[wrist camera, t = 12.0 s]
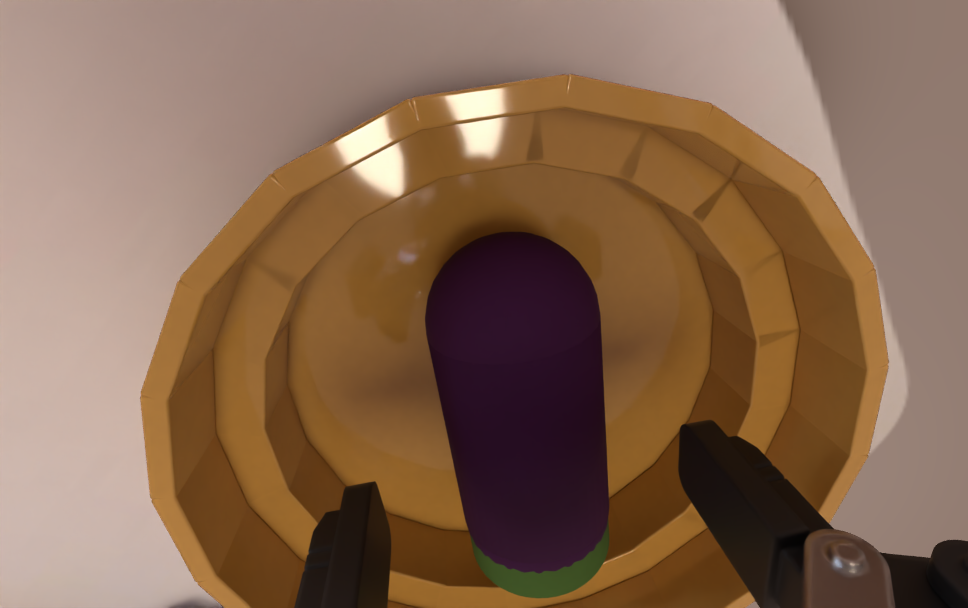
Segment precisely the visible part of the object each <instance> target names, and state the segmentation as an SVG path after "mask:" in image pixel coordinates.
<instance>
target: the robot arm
mask: <svg viewBox="0 0 968 608" xmlns="http://www.w3.org/2000/svg"><path fill="white" fill-rule="evenodd" d="M678 473H679V478H680V481H681V484H682V487H683V489H684V491H685V493H686V495H687V496H688V498H689V499H690V501H691V503H692V504H693V506H694V507H695V509H696V510H697V512H698V513H699V515H700V516H701V518H702V519H703V521H704V522H705V524H706V526H707V527H708V529H709V530H710V532H711V533H712V535H713V536H714V538H715V539H716V541H717V542H718V544H719V545H720V547H721V549H722V550H723V552H724V553H725V555H726V556H727V558H728V559H729V561H730V562H731V564H732V565H733V567H734V569H735V570H736V572H737V573H738V575H739V576H740V578H741V579H742V581H743V582H744V584H745V585H746V587H747V588H748V590H749V592H750V593H751V595H752V596H753V598H754V599H755V601H756V602H757V604H758V605H759V607H760V608H968V541H962V540H947V541H943V542H941V543H938V544H937V545H936V546H935V547H934V549H933V552H932V555H931V558H926V557H916V556H904V555H895V554H886V553H880V552H878V550H877V549H875V548H874V547H873V546H872V545H871V544H869V543H868V542H866V541H864V540H863V539H861V538H859V537H857V536H855V535H853V534H851V533H848V532H844V531H840V530H835V529H834V528H832V527H831V525H830V524H829V523H828V522H827V521H826V520H825V519H824V518H823V517H822V516H821V515H820V514H819V513H818V512H817V511H816V509H815V508H814V507H813V506H812V505H811V504H810V503H809V502H808V501H807V500H806V499H805V498H804V497H803V496H802V494H801V493H800V492H799V491H798V490H797V489H796V488H795V487H794V486H793V485H792V484H791V483H790V482H789V481H788V480H787V479H785V478H784V475H783V474H782V473H781V472H780V471H779V470H778V469H777V468H776V467H775V466H773V465H772V462H771V461H770V460H769V459H768V458H767V457H766V456H765V455H764V454H763V453H762V452H761V451H760V450H759V449H758V447H756V446H754V445H753V444H751V443H749V442H747V441H746V440H744V439H742V438H741V437H739V436H731V437H728V436H727V435H726V434H725V433H724V432H723V430H722V429H721V428H720V427H719V426H718V425H717V424H716V423H715V422H714V421H713V420H710V419H709V420H704V421H698V422H693V423H688V424H683V425H681V427H680V433H679V459H678ZM308 552H309V554H308V555H307V558H306V562H305V566H304V572H303V574H302V578H301V582H300V586H299V590H298V594H297V598H296V602H295V606H294V608H387V607H388V592H389V578H390V563H391V533H390V526H389V522H388V519H387V516H386V512H385V509H384V505H383V502H382V499H381V495H380V492H379V489H378V486H377V483H376V482H375V481H373V482H368V483H362V484H357V485H351V486H346V487H345V489H344V492H343V496H342V501H341V507H340V510H335V511H330V512H326V513H325V514H324V516H323V517H322V519H321V520H320V522H319V523H318V525H317V526H316V528H315V529H314V531H313V534H312V538H311V542H310V546H309V550H308Z"/></svg>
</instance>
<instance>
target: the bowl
mask: <svg viewBox="0 0 968 608" xmlns="http://www.w3.org/2000/svg"><path fill="white" fill-rule="evenodd" d="M499 232H527V233H532V234H535V235H538V236H542V237H545V238H547V239H550V240H551V241H553V242H555V243H557V244H558V245H560V246H562V247H563V248H565V249H566V250H567V251H568V252H570V253H571V254H572V255H573V256H574V257H575V258H576V259H577V260H578V261H579V262H580V264H581V265H582V267H583V268H584V270H585V271H586V273H587V274H588V276H589V277H590V278H591V280H592V283H593V285H594V288H595V290H596V293H597V297H598V303H599V309H600V315H601V336H602V358H603V379H604V401H605V423H606V444H607V466H608V487H609V516H608V520H609V549H608V553H607V556H606V559H605V561H604V563H603V565H602V566H601V568H600V569H599V571H598V572H597V573H596V574H595V576H594V577H593V578H592V579H591V580H590V581H588V582H587V583H586V584H585V585H583V586H582V587H580V588H578V589H577V590H575V591H572V592H570V593H568V594H565V595H561V596H558V597H552V598H528V597H523V596H519V595H516V594H513V593H510V592H508V591H506V590H504V589H502V588H500V587H499V586H497V585H496V584H495V583H493V582H492V581H491V580H490V579H489V578H488V577H487V576H486V575H485V574H484V573H483V571H482V570H481V569H480V567H479V565H478V563H477V561H476V559H475V556H474V552H473V548H472V543H471V538H470V533H469V530H468V527H467V524H466V521H465V517H464V512H463V507H462V502H461V497H460V493H459V488H458V483H457V478H456V474H455V469H454V464H453V459H452V455H451V450H450V445H449V440H448V436H447V431H446V426H445V421H444V417H443V412H442V407H441V402H440V397H439V393H438V388H437V383H436V378H435V374H434V369H433V364H432V359H431V355H430V350H429V345H428V340H427V336H426V327H425V313H426V305H427V298H428V295H429V292H430V289H431V286H432V283H433V281H434V279H435V278H436V276H437V275H438V273H439V271H440V270H441V268H442V267H443V265H444V264H445V263H446V262H447V261H448V260H449V258H450V257H451V256H452V255H453V254H454V253H455V252H457V251H458V250H459V249H461V248H462V247H464V246H465V245H467V244H469V243H470V242H472V241H473V240H475V239H478V238H480V237H483V236H487V235H490V234H494V233H499ZM888 363H889V360H888V353H887V346H886V339H885V332H884V325H883V318H882V311H881V304H880V297H879V290H878V283H877V276H876V270H875V269H874V265H873V263H872V262H871V260H870V258H869V257H868V255H867V254H866V252H865V250H864V249H863V247H862V246H861V244H860V242H859V241H858V239H857V238H856V236H855V234H854V233H853V231H852V230H851V228H850V226H849V225H848V223H847V221H846V220H845V218H844V217H843V215H842V213H841V212H840V210H839V209H838V207H837V205H836V204H835V202H834V201H833V199H832V197H831V196H830V194H829V193H828V191H827V189H826V188H825V186H824V184H823V183H822V181H821V180H820V178H819V177H818V176H816V174H815V173H814V172H813V171H811V170H810V169H808V168H807V167H805V166H804V165H802V164H801V163H799V162H798V161H796V160H795V159H794V158H792V157H791V156H789V155H788V154H786V153H785V152H783V151H782V150H780V149H779V148H777V147H776V146H774V145H773V144H771V143H770V142H768V141H767V140H765V139H764V138H762V137H761V136H759V135H758V134H756V133H755V132H754V131H752V130H751V129H749V128H748V127H746V126H745V125H743V124H742V123H740V122H739V121H737V120H736V119H734V118H733V117H731V116H730V115H728V114H727V113H725V112H724V111H722V110H721V109H719V108H718V107H717V106H715V105H712V104H711V103H708V102H703V101H698V100H694V99H689V98H684V97H679V96H674V95H670V94H665V93H660V92H655V91H650V90H646V89H641V88H636V87H631V86H626V85H621V84H617V83H612V82H607V81H602V80H597V79H593V78H588V77H583V76H578V75H573V74H568V75H566V74H562V75H555V76H549V77H542V78H535V79H529V80H522V81H516V82H509V83H502V84H496V85H489V86H483V87H476V88H469V89H463V90H456V91H450V92H443V93H436V94H430V95H423V96H416V97H413V98H412V99H406V100H404V101H403V102H401V103H399V104H397V105H395V106H393V107H391V108H390V109H388V110H386V111H384V112H382V113H380V114H378V115H377V116H375V117H373V118H371V119H369V120H367V121H365V122H364V123H362V124H360V125H358V126H356V127H354V128H352V129H351V130H349V131H347V132H345V133H343V134H341V135H339V136H338V137H336V138H334V139H332V140H330V141H328V142H326V143H325V144H323V145H321V146H319V147H317V148H315V149H313V150H312V151H310V152H308V153H306V154H304V155H302V156H300V157H299V158H297V159H295V160H293V161H291V162H289V163H287V164H286V165H284V166H282V167H280V168H278V169H276V170H274V172H273V173H272V174H270V175H268V177H267V178H266V179H265V180H264V181H263V182H262V184H261V185H260V186H259V187H258V188H257V189H256V190H255V192H254V193H253V194H252V195H251V196H250V197H249V198H248V200H247V201H246V202H245V203H244V204H243V205H242V206H241V208H240V209H239V210H238V211H237V212H236V213H235V215H234V216H233V217H232V218H231V219H230V220H229V221H228V223H227V224H226V225H225V226H224V227H223V228H222V229H221V231H220V232H219V233H218V234H217V235H216V236H215V238H214V239H213V240H212V241H211V242H210V243H209V244H208V246H207V247H206V248H205V249H204V250H203V251H202V252H201V254H200V255H199V256H198V257H197V258H196V259H195V260H194V262H193V263H192V264H191V265H190V266H189V267H188V269H187V270H186V271H185V272H184V273H183V274H182V275H181V277H180V280H179V281H178V282H177V285H176V288H175V291H174V294H173V297H172V300H171V303H170V306H169V309H168V312H167V315H166V318H165V321H164V324H163V327H162V330H161V333H160V336H159V339H158V342H157V345H156V348H155V351H154V354H153V357H152V360H151V363H150V366H149V369H148V372H147V375H146V378H145V381H144V384H143V387H142V390H141V397H140V401H141V411H142V421H143V431H144V441H145V450H146V460H147V470H148V480H149V490H150V498H151V499H152V503H153V505H154V507H155V509H156V511H157V512H158V514H159V516H160V518H161V520H162V522H163V523H164V525H165V527H166V529H167V531H168V532H169V534H170V536H171V538H172V540H173V542H174V543H175V545H176V547H177V549H178V551H179V552H180V554H181V556H182V558H183V560H184V562H185V563H186V565H187V567H188V569H189V571H190V572H191V574H192V576H193V578H194V580H195V581H196V582H198V585H199V586H200V587H201V588H202V589H204V590H205V591H206V592H207V593H208V594H209V595H210V596H212V597H213V598H214V599H215V600H216V601H217V602H218V603H220V604H221V605H222V606H223V607H224V608H294V606H295V602H296V598H297V594H298V590H299V586H300V582H301V578H302V574H303V572H304V566H305V562H306V558H307V555H308V554H309V552H308V550H309V546H310V542H311V538H312V534H313V531H314V529H315V528H316V526H317V525H318V523H319V522H320V520H321V519H322V517H323V516H324V514H325V513H326V512H330V511H335V510H340V507H341V501H342V496H343V492H344V489H345V487H346V486H351V485H357V484H362V483H368V482H373V481H375V482H376V483H377V486H378V489H379V492H380V495H381V499H382V502H383V505H384V509H385V512H386V516H387V519H388V522H389V526H390V533H391V563H390V578H389V592H388V607H387V608H745V607H747V606H748V605H750V604H751V603H753V602H755V599H754V598H753V596H752V595H751V593H750V592H749V590H748V588H747V587H746V585H745V584H744V582H743V581H742V579H741V578H740V576H739V575H738V573H737V572H736V570H735V569H734V567H733V565H732V564H731V562H730V561H729V559H728V558H727V556H726V555H725V553H724V552H723V550H722V549H721V547H720V545H719V544H718V542H717V541H716V539H715V538H714V536H713V535H712V533H711V532H710V530H709V529H708V527H707V526H706V524H705V522H704V521H703V519H702V518H701V516H700V515H699V513H698V512H697V510H696V509H695V507H694V506H693V504H692V503H691V501H690V499H689V498H688V496H687V495H686V493H685V491H684V489H683V487H682V484H681V481H680V478H679V473H678V459H679V433H680V427H681V425H683V424H688V423H693V422H698V421H704V420H709V419H710V420H713V421H714V422H715V423H716V424H717V425H718V426H719V427H720V428H721V429H722V430H723V432H724V433H725V434H726V435H727V436H728V437H731V436H739V437H741V438H742V439H744V440H746V441H747V442H749V443H751V444H753V445H754V446H756V447H758V449H759V450H760V451H761V452H762V453H763V454H764V455H765V456H766V457H767V458H768V459H769V460H770V461H771V462H772V465H773V466H775V467H776V468H777V469H778V470H779V471H780V472H781V473H782V474H783V475H784V478H785V479H787V480H788V481H789V482H790V483H791V484H792V485H793V486H794V487H795V488H796V489H797V490H798V491H799V492H800V493H801V494H802V496H803V497H804V498H805V499H806V500H807V501H808V502H809V503H810V504H811V505H812V506H813V507H814V508H815V509H816V511H817V512H818V513H819V514H820V515H821V516H822V517H823V518H824V519H825V520H826V521H827V522H828V523H830V521H831V520H832V518H833V516H834V515H835V513H836V511H837V509H838V508H839V506H840V504H841V503H842V501H843V499H844V497H845V495H846V494H847V492H848V490H849V489H850V487H851V485H852V484H853V482H854V480H855V478H856V477H857V475H858V473H859V471H860V470H861V468H862V466H863V465H864V463H865V461H866V459H867V458H868V454H869V451H870V447H871V442H872V438H873V433H874V429H875V425H876V420H877V416H878V411H879V407H880V402H881V398H882V394H883V389H884V385H885V380H886V376H887V372H888Z"/></svg>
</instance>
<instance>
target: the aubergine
mask: <svg viewBox="0 0 968 608" xmlns="http://www.w3.org/2000/svg"><path fill="white" fill-rule="evenodd" d="M425 327H426V336H427V340H428V345H429V350H430V355H431V359H432V364H433V369H434V374H435V378H436V383H437V388H438V393H439V397H440V402H441V407H442V412H443V417H444V421H445V426H446V431H447V436H448V440H449V445H450V450H451V455H452V459H453V464H454V469H455V474H456V478H457V483H458V488H459V493H460V497H461V502H462V507H463V512H464V517H465V521H466V524H467V527H468V530H469V533H470V538H471V543H472V548H473V552H474V556H475V559H476V561H477V563H478V565H479V567H480V569H481V570H482V571H483V573H484V574H485V575H486V576H487V577H488V578H489V579H490V580H491V581H492V582H493V583H495V584H496V585H497V586H499V587H500V588H502V589H504V590H506V591H508V592H510V593H513V594H516V595H519V596H523V597H528V598H552V597H558V596H561V595H565V594H568V593H570V592H572V591H575V590H577V589H578V588H580V587H582V586H583V585H585V584H586V583H587V582H588V581H590V580H591V579H592V578H593V577H594V576H595V574H596V573H597V572H598V571H599V569H600V568H601V566H602V565H603V563H604V561H605V559H606V556H607V553H608V549H609V520H608V516H609V487H608V466H607V444H606V423H605V401H604V379H603V358H602V336H601V315H600V309H599V303H598V297H597V293H596V290H595V288H594V285H593V283H592V280H591V278H590V277H589V276H588V274H587V273H586V271H585V270H584V268H583V267H582V265H581V264H580V262H579V261H578V260H577V259H576V258H575V257H574V256H573V255H572V254H571V253H570V252H568V251H567V250H566V249H565V248H563V247H562V246H560V245H558V244H557V243H555V242H553V241H551V240H550V239H547V238H545V237H542V236H538V235H535V234H532V233H527V232H499V233H494V234H490V235H487V236H483V237H480V238H478V239H475V240H473V241H472V242H470V243H469V244H467V245H465V246H464V247H462V248H461V249H459V250H458V251H457V252H455V253H454V254H453V255H452V256H451V257H450V258H449V260H448V261H447V262H446V263H445V264H444V265H443V267H442V268H441V270H440V271H439V273H438V275H437V276H436V278H435V279H434V281H433V283H432V286H431V289H430V292H429V295H428V298H427V305H426V313H425Z"/></svg>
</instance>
